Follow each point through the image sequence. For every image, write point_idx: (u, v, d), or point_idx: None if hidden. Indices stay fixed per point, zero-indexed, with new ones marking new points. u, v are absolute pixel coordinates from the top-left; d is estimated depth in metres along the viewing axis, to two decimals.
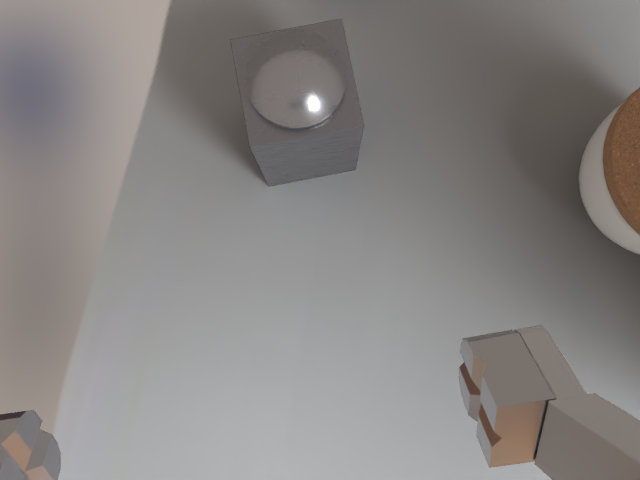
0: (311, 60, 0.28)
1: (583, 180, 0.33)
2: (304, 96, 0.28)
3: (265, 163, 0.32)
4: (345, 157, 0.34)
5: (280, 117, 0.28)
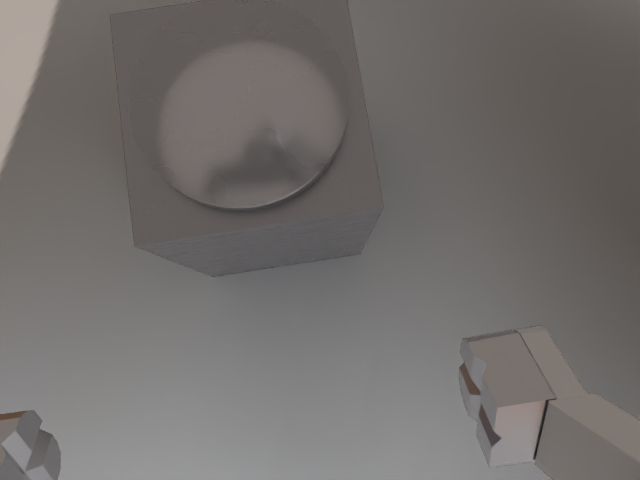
0: (274, 63, 0.13)
1: None
2: (255, 140, 0.13)
3: (188, 259, 0.16)
4: (343, 244, 0.18)
5: (199, 185, 0.13)
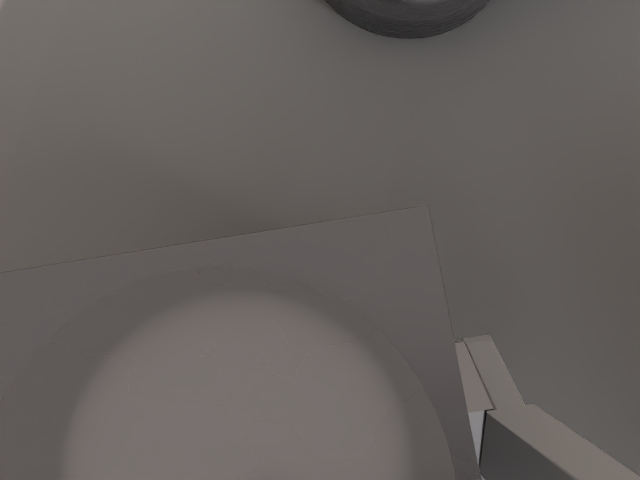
0: (291, 428, 0.06)
1: None
2: None
3: None
4: None
5: None
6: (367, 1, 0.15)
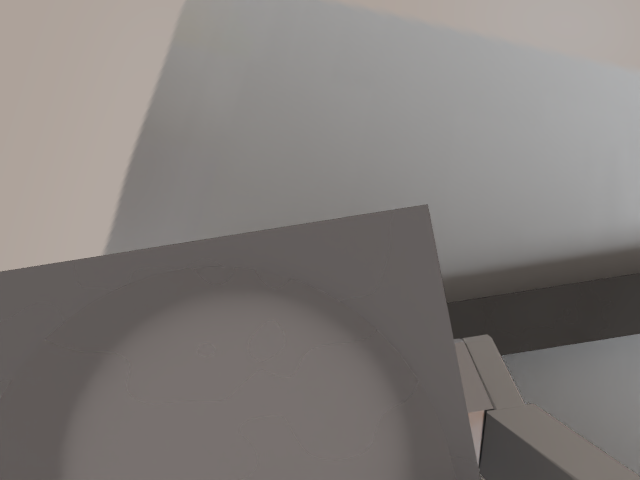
0: (291, 428, 0.06)
1: None
2: None
3: None
4: None
5: None
6: None
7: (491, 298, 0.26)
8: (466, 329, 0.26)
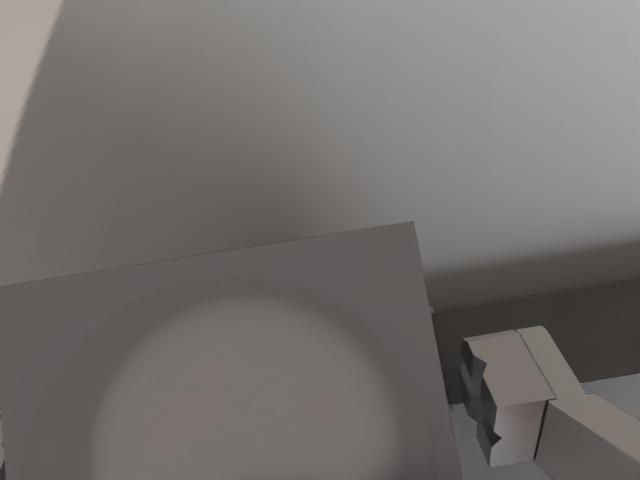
0: (293, 417, 0.07)
1: None
2: None
3: None
4: None
5: None
6: None
7: (568, 294, 0.17)
8: None
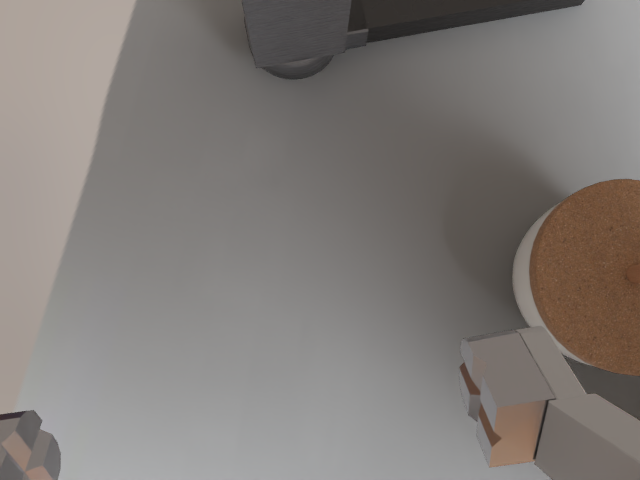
0: None
1: (514, 283, 0.33)
2: None
3: (253, 22, 0.31)
4: (335, 26, 0.33)
5: None
6: (273, 66, 0.37)
7: None
8: (403, 2, 0.38)
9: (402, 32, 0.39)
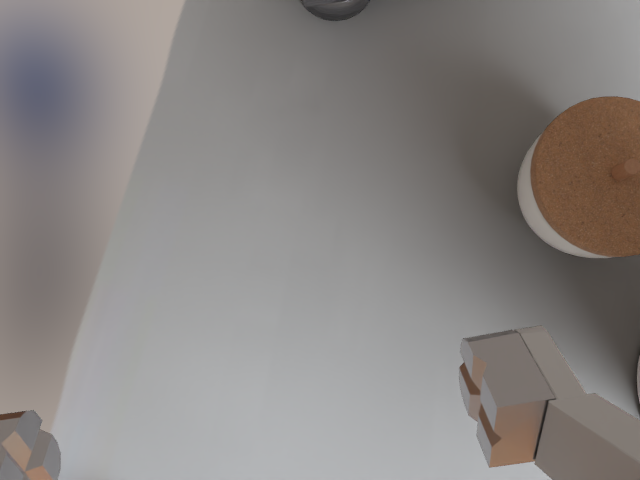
0: None
1: (518, 188, 0.39)
2: None
3: None
4: None
5: None
6: (318, 7, 0.44)
7: None
8: None
9: None
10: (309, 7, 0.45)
